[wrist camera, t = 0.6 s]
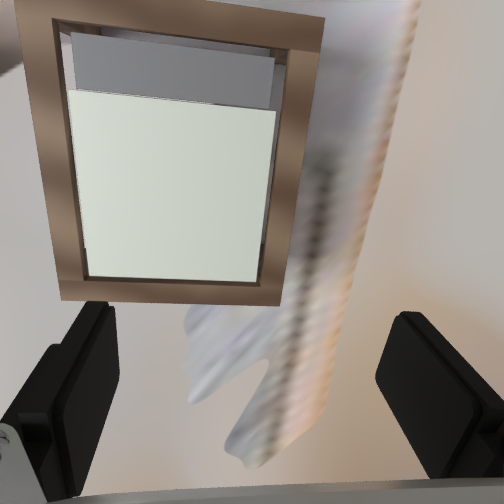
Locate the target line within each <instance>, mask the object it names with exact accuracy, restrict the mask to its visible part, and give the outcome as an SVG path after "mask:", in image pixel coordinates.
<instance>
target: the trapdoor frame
mask: <svg viewBox="0 0 504 504" xmlns="http://www.w3.org/2000/svg"><path fill="white" fill-rule="evenodd" d="M14 5H15V12H16V18H17V24H18V31H19V37H20V43H21V50H22V56H23V62H24V69H25V75H26V81H27V87H28V94H29V100H30V106H31V113H32V119H33V125H34V131H35V138H36V144H37V151H38V157H39V163H40V169H41V176H42V182H43V188H44V195H45V201H46V207H47V214H48V219H49V226H50V233H51V239H52V245H53V252H54V258H55V264H56V271H57V277H58V283H59V289H60V296H61V300H64V301H65V300H66V301H107V302H137V303H138V302H139V303H173V304H174V303H175V304H176V303H177V304H209V305H246V306H280V302H281V295H282V289H283V283H284V276H285V270H286V264H287V257H288V251H289V245H290V238H291V232H292V226H293V219H294V213H295V207H296V200H297V194H298V188H299V181H300V175H301V169H302V162H303V156H304V150H305V143H306V137H307V131H308V124H309V118H310V112H311V105H312V99H313V93H314V86H315V80H316V74H317V67H318V61H319V55H320V48H321V42H322V36H323V29H324V23H325V18H323V17H316V16H309V15H302V14H295V13H288V12H282V11H275V10H268V9H261V8H254V7H247V6H241V5H234V4H227V3H220V2H213V1H206V0H14ZM100 27H107V28H114V29H122V30H130V31H137V32H145V33H152V34H160V35H168V36H175V37H183V38H191V39H198V40H206V41H214V42H221V43H229V44H237V45H244V46H252V47H260V48H267V49H271V50H270V57H272V58H275V62H274V64H281V65H286V71H285V79H284V88H283V96H282V104H281V112H280V120H279V128H278V136H277V144H276V152H275V160H274V168H273V176H272V184H271V192H270V201H269V209H268V217H267V225H266V233H265V241H264V244H260V251H259V260H258V268H257V277H256V282H243V281H216V280H189V279H162V278H135V277H108V276H89V269H88V260H87V252H86V248H84V239H83V231H82V223H81V215H80V214H81V213H80V205H79V197H78V188H77V180H76V171H75V163H74V154H73V145H72V136H71V128H70V119H69V110H68V102H67V93H66V84H65V76H64V68H63V58H62V50H61V41H60V33H59V32H62V33H64V34H67V35H69V36H71V32H75V33H83V34H91V35H99V36H101V29H100Z"/></svg>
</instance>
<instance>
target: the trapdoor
mask: <svg viewBox="0 0 504 504" xmlns="http://www.w3.org/2000/svg"><path fill="white" fill-rule="evenodd" d="M71 41H72V51H73V60H74V70H75V79H76V88H77V89H84V90H94V91H104V92H113V93H122V94H131V95H141V96H150V97H159V98H160V97H161V98H169V99H179V100H188V101H197V102H207V103H216V104H225V105H235V106H244V107H254V108H263V109H269V107H270V98H271V89H272V80H273V71H274V62H275V58H272V57H264V56H256V55H248V54H240V53H232V52H225V51H217V50H209V49H201V48H193V47H185V46H177V45H169V44H162V43H154V42H146V41H138V40H130V39H122V38H114V37H107V36H99V35H91V34H83V33H75V32H71ZM68 93H69V102H70V111H71V120H72V128H73V137H74V146H75V155H76V163H77V173H78V181H79V190H80V198H81V208H82V217H83V224H84V233H85V243H86V252H87V260H88V269H89V276H108V277H135V278H162V279H189V280H216V281H243V282H256V277H257V268H258V260H259V251H260V243H261V235H262V226H263V218H264V209H265V201H266V193H267V184H268V176H269V167H270V159H271V150H272V142H273V134H274V125H275V117H276V111H270V110H260V109H251V108H241V107H232V106H223V105H213V104H204V103H193V102H184V101H174V100H166V99H156V98H147V97H138V96H128V95H119V94H109V93H100V92H90V91H80V90H68Z"/></svg>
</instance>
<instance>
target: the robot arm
mask: <svg viewBox="0 0 504 504" xmlns="http://www.w3.org/2000/svg"><path fill="white" fill-rule="evenodd" d="M119 374H120V369H119V356H118V343H117V330H116V317H115V308H114V306H109V304H108V302H107V301H87V302H86V303H85V305H84V306H83V308H82V309H81V311H80V313H79V314H78V316H77V318H76V319H75V321H74V323H73V324H72V326H71V327H70V329H69V331H68V332H67V334H66V335H65V337H64V339H63V340H62V342H61V344H52V345H50V346H49V347H48V349H47V350H46V351H45V353H44V355H43V356H42V358H41V359H40V361H39V362H38V364H37V365H36V367H35V368H34V370H33V371H32V373H31V374H30V376H29V378H28V379H27V380H26V382H25V384H24V385H23V387H22V388H21V390H20V391H19V393H18V394H17V396H16V397H15V399H14V400H13V402H12V403H11V405H10V406H9V408H8V409H7V411H6V413H5V414H4V416H3V417H2V419H1V420H0V504H504V400H503V399H501V397H500V396H499V395H498V394H497V393H496V392H495V391H494V390H493V389H492V388H491V387H490V386H489V384H488V383H487V382H486V381H485V380H484V379H483V378H482V377H481V376H480V375H479V374H478V373H477V372H476V371H475V370H474V368H473V367H471V365H470V364H469V363H468V362H467V361H466V360H465V359H464V358H463V357H462V356H461V355H460V354H459V352H458V351H456V349H455V348H454V347H453V346H452V345H451V344H450V343H449V342H448V341H447V340H446V339H445V338H444V337H443V335H442V334H441V333H440V332H439V331H438V330H437V329H436V328H435V327H434V326H433V325H432V324H431V323H430V322H429V321H428V319H427V318H426V317H425V316H424V315H423V314H422V313H420V312H411V311H410V312H409V311H403V312H401V313H400V314H399V315H398V316H396V317H395V319H394V322H393V324H392V327H391V330H390V334H389V336H388V339H387V342H386V345H385V348H384V350H383V353H382V356H381V359H380V362H379V365H378V368H377V371H376V375H375V379H376V383H377V385H378V387H379V389H380V391H381V392H382V394H383V396H384V398H385V400H386V401H387V403H388V405H389V407H390V408H391V410H392V412H393V414H394V416H395V417H396V419H397V421H398V423H399V425H400V427H401V428H402V430H403V432H404V434H405V435H406V437H407V439H408V441H409V443H410V444H411V446H412V448H413V450H414V451H415V453H416V455H417V457H418V459H419V460H420V463H421V464H422V466H423V468H424V469H425V471H426V473H427V475H428V477H429V478H430V479H422V480H421V479H420V480H392V481H391V480H390V481H365V482H364V481H363V482H336V483H313V484H312V483H311V484H287V485H263V486H241V487H219V488H198V489H175V490H160V491H144V492H129V493H114V494H102V495H94V496H85V497H78V496H80V494H81V492H82V490H83V487H84V484H85V481H86V478H87V475H88V472H89V469H90V466H91V463H92V460H93V457H94V454H95V451H96V448H97V445H98V442H99V439H100V436H101V433H102V430H103V427H104V424H105V421H106V418H107V415H108V412H109V409H110V406H111V403H112V400H113V397H114V394H115V391H116V388H117V385H118V382H119ZM76 496H77V497H76ZM73 497H76V498H73Z"/></svg>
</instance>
